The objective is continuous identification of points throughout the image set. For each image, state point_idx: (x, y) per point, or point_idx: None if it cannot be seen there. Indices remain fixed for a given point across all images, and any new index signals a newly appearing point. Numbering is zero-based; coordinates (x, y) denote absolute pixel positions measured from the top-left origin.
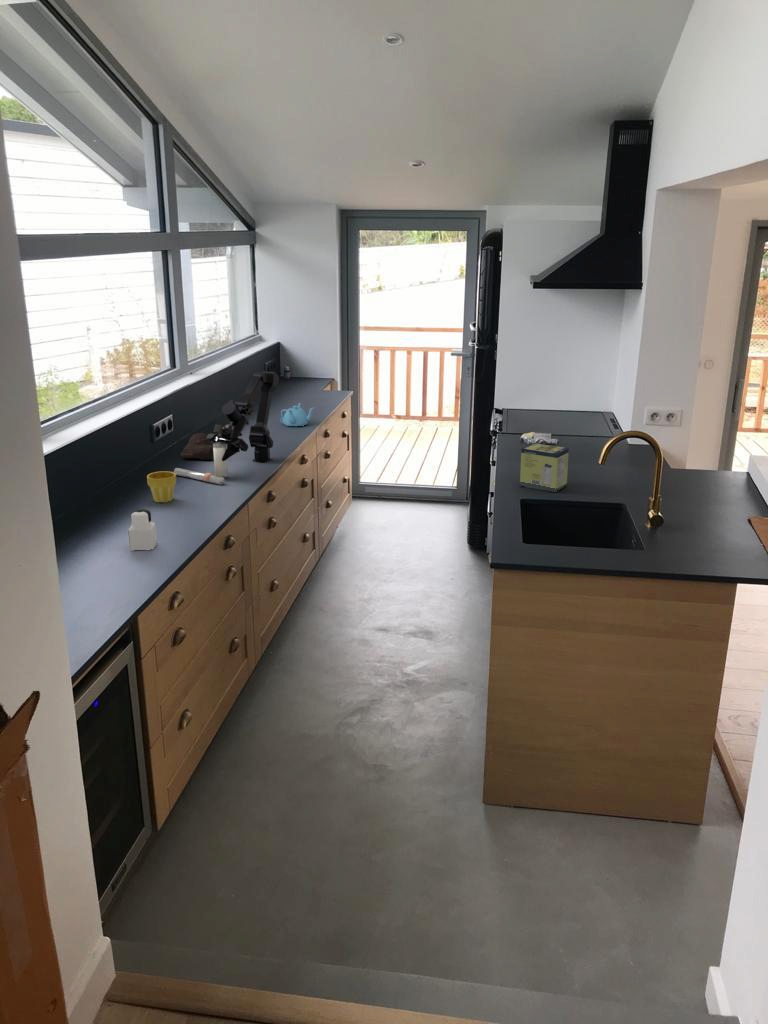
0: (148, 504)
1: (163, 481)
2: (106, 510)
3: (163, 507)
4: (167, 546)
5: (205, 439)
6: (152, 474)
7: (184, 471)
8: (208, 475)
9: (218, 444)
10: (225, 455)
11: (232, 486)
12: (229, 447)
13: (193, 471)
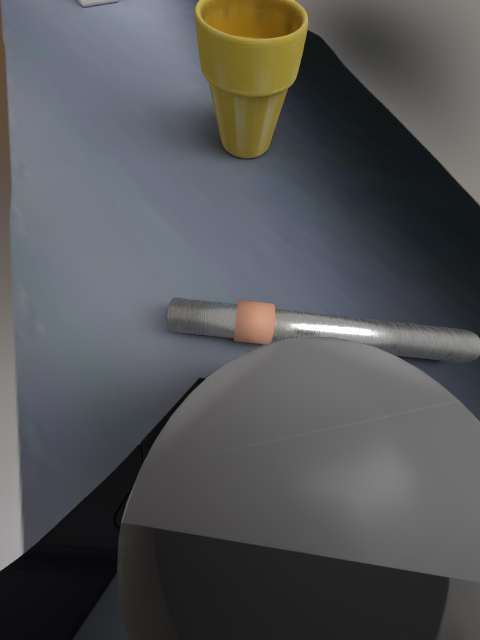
0: None
1: (210, 12)
2: (299, 74)
3: (203, 111)
4: (55, 3)
5: None
6: (300, 24)
7: (407, 325)
8: (246, 302)
9: (287, 444)
10: (166, 415)
11: (125, 320)
12: (16, 578)
13: (364, 330)
